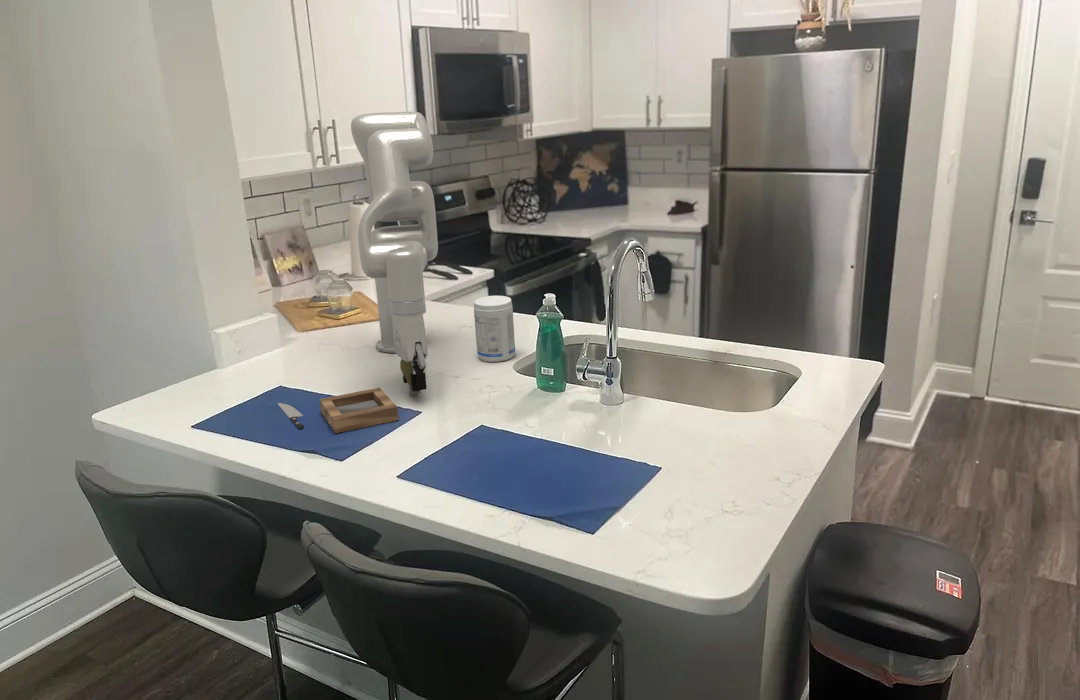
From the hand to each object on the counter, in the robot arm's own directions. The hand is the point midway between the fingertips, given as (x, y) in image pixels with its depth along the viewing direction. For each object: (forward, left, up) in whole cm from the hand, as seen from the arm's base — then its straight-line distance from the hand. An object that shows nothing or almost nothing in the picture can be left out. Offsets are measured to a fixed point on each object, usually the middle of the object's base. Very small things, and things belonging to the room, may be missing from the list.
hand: (414, 385), depth 178 cm
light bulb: (0, 0, -3) cm, 3 cm away
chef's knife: (-4, -26, -3) cm, 26 cm away
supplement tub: (-15, +26, -3) cm, 30 cm away
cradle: (+5, -14, -2) cm, 15 cm away
